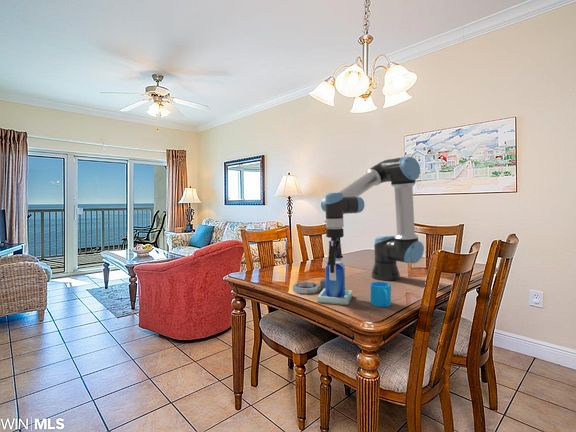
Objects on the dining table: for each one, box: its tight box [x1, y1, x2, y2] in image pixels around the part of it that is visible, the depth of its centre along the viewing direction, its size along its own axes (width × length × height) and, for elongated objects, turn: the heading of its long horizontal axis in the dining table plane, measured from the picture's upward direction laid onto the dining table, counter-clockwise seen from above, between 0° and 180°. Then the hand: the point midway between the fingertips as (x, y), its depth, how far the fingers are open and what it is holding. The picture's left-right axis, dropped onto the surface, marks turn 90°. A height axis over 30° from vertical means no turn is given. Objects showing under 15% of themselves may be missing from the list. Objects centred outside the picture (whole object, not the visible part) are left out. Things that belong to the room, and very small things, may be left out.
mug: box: [370, 281, 392, 307], centre depth 129 cm, size 12×8×8 cm
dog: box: [319, 278, 326, 292], centre depth 151 cm, size 3×4×5 cm
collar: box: [292, 281, 320, 295], centre depth 152 cm, size 12×12×2 cm
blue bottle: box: [324, 260, 346, 298], centre depth 137 cm, size 8×8×16 cm
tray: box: [316, 288, 353, 306], centre depth 138 cm, size 13×13×2 cm
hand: (335, 276), depth 137 cm, fingers open, 13 cm apart
